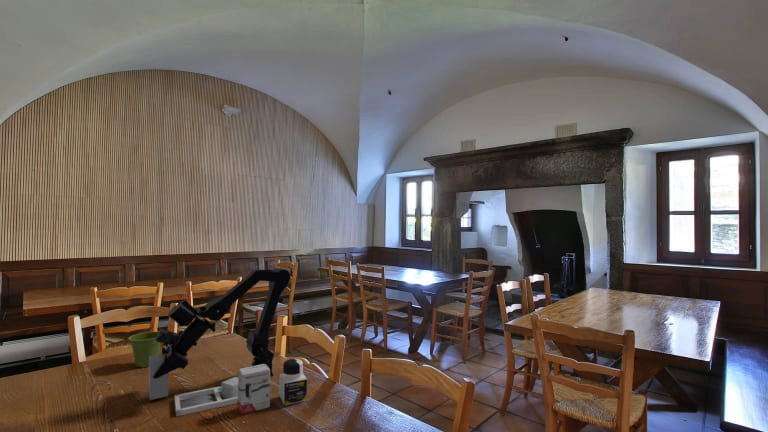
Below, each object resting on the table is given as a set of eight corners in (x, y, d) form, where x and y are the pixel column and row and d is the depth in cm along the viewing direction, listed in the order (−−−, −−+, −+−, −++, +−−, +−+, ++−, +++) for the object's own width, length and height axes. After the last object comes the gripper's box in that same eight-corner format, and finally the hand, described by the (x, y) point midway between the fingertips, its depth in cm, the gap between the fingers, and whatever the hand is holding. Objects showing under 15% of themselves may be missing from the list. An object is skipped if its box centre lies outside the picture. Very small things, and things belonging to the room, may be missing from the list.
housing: (247, 385, 134) (247, 380, 134) (255, 399, 124) (255, 394, 124) (174, 400, 123) (174, 395, 123) (176, 416, 113) (176, 411, 113)
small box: (235, 390, 130) (235, 376, 130) (247, 394, 128) (247, 379, 128) (220, 397, 125) (220, 382, 126) (232, 401, 123) (232, 386, 123)
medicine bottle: (284, 405, 120) (284, 366, 120) (279, 396, 126) (279, 359, 126) (307, 400, 123) (307, 362, 123) (300, 392, 129) (301, 355, 130)
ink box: (241, 414, 114) (241, 374, 114) (237, 408, 118) (237, 368, 118) (270, 407, 119) (270, 368, 119) (265, 400, 123) (265, 363, 123)
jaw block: (166, 390, 128) (166, 353, 128) (168, 395, 124) (168, 357, 124) (148, 394, 125) (149, 356, 125) (149, 400, 121) (150, 361, 121)
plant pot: (155, 356, 162) (155, 329, 162) (169, 363, 155) (169, 334, 155) (122, 365, 152) (123, 336, 152) (136, 372, 145) (136, 342, 145)
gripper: (169, 313, 135) (131, 352, 129) (176, 326, 119) (133, 370, 113) (194, 333, 139) (158, 371, 133) (204, 347, 124) (164, 391, 117)
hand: (153, 375), depth 124 cm, fingers closed on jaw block, 5 cm apart
